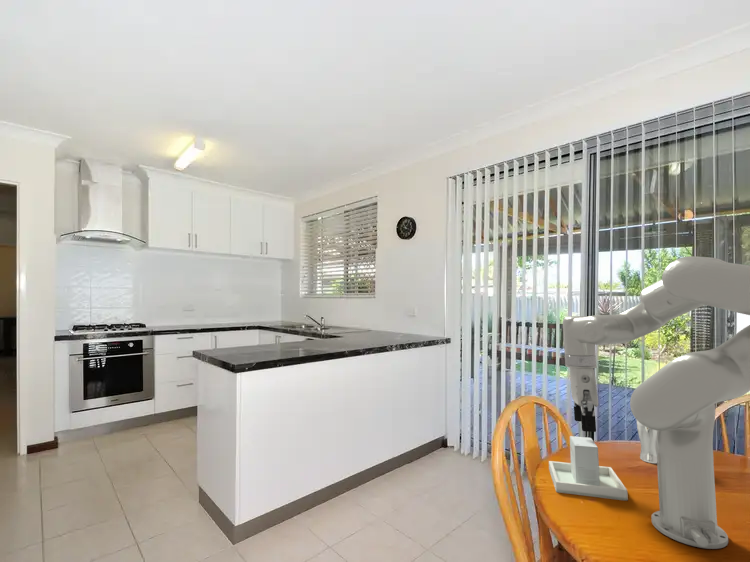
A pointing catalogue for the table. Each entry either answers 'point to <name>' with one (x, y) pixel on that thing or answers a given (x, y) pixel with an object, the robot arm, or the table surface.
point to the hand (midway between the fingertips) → (584, 426)
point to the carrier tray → (607, 489)
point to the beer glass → (647, 443)
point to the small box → (584, 460)
